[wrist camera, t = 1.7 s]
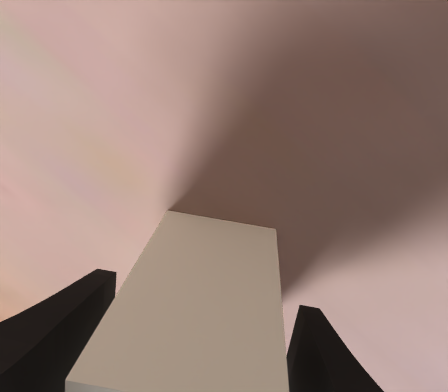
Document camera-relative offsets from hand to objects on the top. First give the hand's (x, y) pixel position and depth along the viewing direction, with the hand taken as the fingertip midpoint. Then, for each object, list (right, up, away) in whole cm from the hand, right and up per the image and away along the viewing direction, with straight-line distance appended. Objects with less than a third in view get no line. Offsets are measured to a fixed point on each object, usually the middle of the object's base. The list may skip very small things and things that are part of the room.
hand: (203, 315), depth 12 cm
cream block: (0, +1, +3) cm, 3 cm away
